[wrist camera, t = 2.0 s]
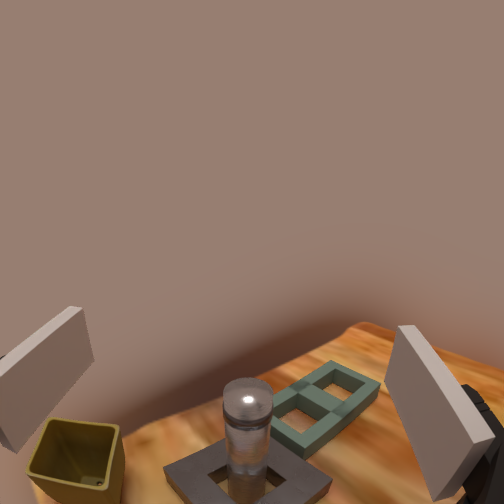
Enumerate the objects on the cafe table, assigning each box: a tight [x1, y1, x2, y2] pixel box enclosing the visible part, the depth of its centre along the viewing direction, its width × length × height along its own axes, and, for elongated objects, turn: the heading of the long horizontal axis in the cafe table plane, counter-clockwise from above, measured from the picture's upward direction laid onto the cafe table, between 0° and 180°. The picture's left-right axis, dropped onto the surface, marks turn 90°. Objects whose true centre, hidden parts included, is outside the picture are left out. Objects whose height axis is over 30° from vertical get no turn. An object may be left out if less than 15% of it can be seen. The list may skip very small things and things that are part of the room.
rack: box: [270, 360, 381, 460], centre depth 41 cm, size 10×18×3 cm, turn 131°
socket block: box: [163, 436, 333, 504], centre depth 28 cm, size 13×13×3 cm
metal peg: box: [223, 378, 274, 504], centre depth 26 cm, size 4×4×16 cm
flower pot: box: [25, 417, 125, 504], centre depth 23 cm, size 9×9×9 cm
